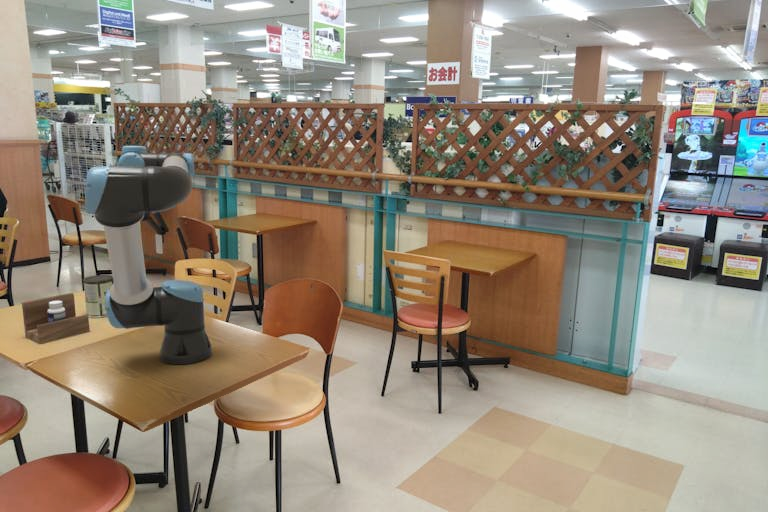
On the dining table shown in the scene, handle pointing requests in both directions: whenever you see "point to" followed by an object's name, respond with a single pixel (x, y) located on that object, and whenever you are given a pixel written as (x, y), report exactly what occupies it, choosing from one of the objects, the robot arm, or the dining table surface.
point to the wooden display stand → (47, 332)
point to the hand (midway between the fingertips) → (141, 256)
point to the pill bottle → (56, 311)
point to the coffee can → (96, 294)
